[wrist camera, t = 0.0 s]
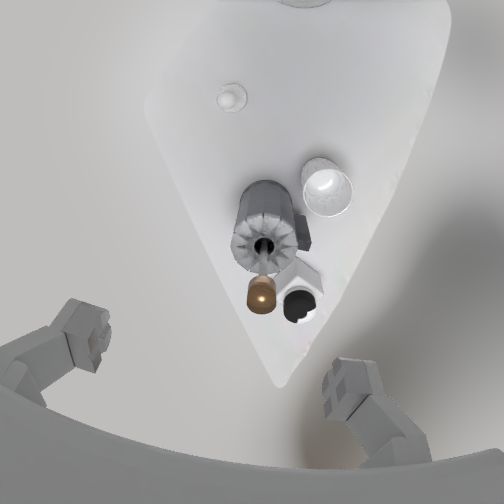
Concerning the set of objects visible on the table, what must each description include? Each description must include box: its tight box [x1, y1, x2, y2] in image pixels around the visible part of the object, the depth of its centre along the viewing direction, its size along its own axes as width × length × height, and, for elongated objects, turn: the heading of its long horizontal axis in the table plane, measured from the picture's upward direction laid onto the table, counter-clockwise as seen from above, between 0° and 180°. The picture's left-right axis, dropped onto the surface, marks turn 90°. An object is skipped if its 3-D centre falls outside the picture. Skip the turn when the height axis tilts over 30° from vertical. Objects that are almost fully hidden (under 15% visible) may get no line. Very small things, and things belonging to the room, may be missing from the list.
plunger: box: [247, 237, 276, 314], centre depth 42 cm, size 7×7×18 cm
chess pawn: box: [216, 84, 247, 113], centre depth 45 cm, size 5×5×9 cm
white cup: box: [301, 158, 353, 217], centre depth 51 cm, size 8×8×10 cm
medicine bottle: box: [274, 257, 324, 323], centre depth 61 cm, size 7×7×12 cm
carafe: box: [231, 180, 312, 275], centre depth 52 cm, size 10×12×16 cm
